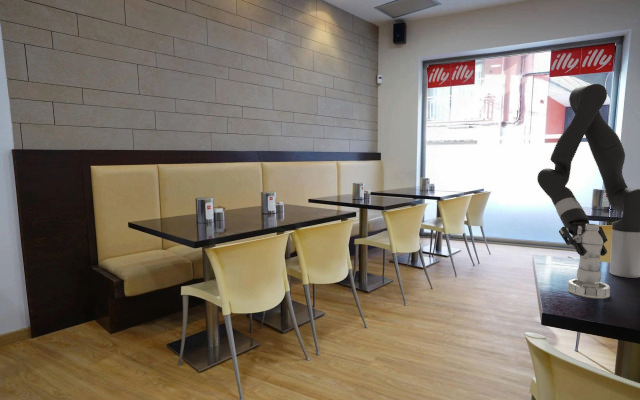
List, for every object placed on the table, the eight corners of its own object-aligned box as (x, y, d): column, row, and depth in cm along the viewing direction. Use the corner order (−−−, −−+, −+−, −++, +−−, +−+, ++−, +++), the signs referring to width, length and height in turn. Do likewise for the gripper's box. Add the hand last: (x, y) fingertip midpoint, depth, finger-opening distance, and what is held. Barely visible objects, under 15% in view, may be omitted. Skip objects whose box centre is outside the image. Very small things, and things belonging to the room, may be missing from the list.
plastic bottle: (604, 287, 122) (609, 226, 119) (581, 286, 123) (585, 225, 121) (594, 281, 128) (598, 223, 126) (572, 280, 129) (576, 222, 127)
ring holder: (577, 284, 133) (578, 276, 133) (616, 294, 124) (616, 285, 123) (561, 290, 127) (561, 282, 127) (599, 301, 118) (600, 292, 117)
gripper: (556, 207, 130) (578, 248, 119) (597, 206, 130) (622, 248, 120) (546, 220, 136) (566, 260, 125) (585, 219, 136) (608, 260, 126)
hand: (593, 254), depth 123 cm, fingers closed on plastic bottle, 6 cm apart
